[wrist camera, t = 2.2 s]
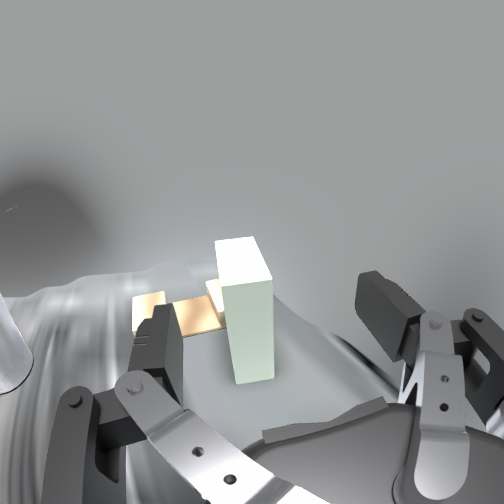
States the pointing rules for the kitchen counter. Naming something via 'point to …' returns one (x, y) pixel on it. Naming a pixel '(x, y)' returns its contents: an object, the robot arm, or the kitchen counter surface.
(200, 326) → the slot board
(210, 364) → the kitchen counter surface
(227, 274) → the tall mint green pillar
